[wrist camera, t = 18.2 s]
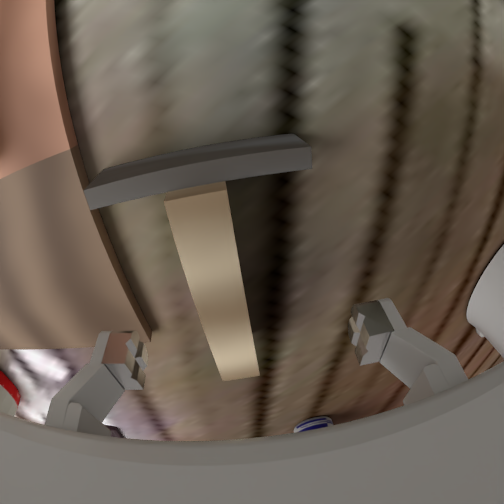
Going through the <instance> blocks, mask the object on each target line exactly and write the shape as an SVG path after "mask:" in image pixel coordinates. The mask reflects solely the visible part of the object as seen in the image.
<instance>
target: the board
mask: <svg viewBox="0 0 504 504" xmlns="http://www.w3.org/2000/svg"><path fill="white" fill-rule="evenodd" d="M89 184H90V183H89V180H88V177H87V174H86V171H85V167H84V164H83V161H82V157H81V154H80V150H79V146H78V143H77V139H76V135H75V131H74V127H73V123H72V119H71V115H70V110H69V106H68V101H67V96H66V91H65V86H64V80H63V75H62V69H61V62H60V56H59V48H58V40H57V31H56V20H55V5H54V0H0V349H62V348H83V347H95V345H96V341H97V338H98V335H99V333H100V332H101V331H133V330H134V331H137V332H138V334H139V336H140V338H139V341H141V342H142V343H146V342H151V335H152V331H151V329H150V327H149V325H148V323H147V321H146V319H145V317H144V315H143V313H142V311H141V309H140V307H139V305H138V303H137V301H136V299H135V297H134V295H133V292H132V290H131V288H130V286H129V284H128V282H127V279H126V277H125V275H124V273H123V270H122V268H121V266H120V263H119V261H118V259H117V256H116V254H115V251H114V249H113V247H112V244H111V242H110V239H109V236H108V234H107V231H106V229H105V226H104V223H103V221H102V218H101V215H100V213H99V210H98V208H97V209H93V210H90V208H89V205H88V202H87V199H86V197H85V194H84V191H83V190H84V189H85V188H86V187H87V186H88V185H89Z"/></svg>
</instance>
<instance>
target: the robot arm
mask: <svg viewBox="0 0 504 504" xmlns="http://www.w3.org/2000/svg"><path fill="white" fill-rule="evenodd" d="M351 314H352V317H351V318H350V319H349V323H348V333H349V338H350V340H351V343H352V344H354V345H355V346H356V350H355V354H356V356H357V359H358V362H359V364H360V365H365V364H370V363H374V362H379V361H380V363H381V364H382V365H383V366H385V367H386V368H387V369H388V370H389V371H390V372H392V373H393V374H394V375H395V376H396V377H397V378H399V379H400V380H401V381H402V382H403V383H404V384H406V385H407V386H408V387H409V388H410V390H409V392H408V393H407V395H406V396H405V398H404V400H403V403H404V405H405V406H402V407H399V408H396V409H393V410H389V411H386V412H383V413H380V414H376V415H373V416H369V417H365V418H362V419H358V420H354V421H350V422H346V423H342V424H337V425H333V426H328V427H323V428H318V429H313V430H308V431H302V432H296V433H290V434H283V435H276V436H268V437H259V438H249V439H236V440H220V441H155V440H139V439H127V438H117V437H111V431H110V429H108V428H107V427H106V426H105V425H104V424H102V422H103V420H104V419H105V417H106V416H107V415H108V413H109V412H110V410H111V409H112V408H113V406H114V405H115V404H116V402H117V401H118V399H119V398H120V397H121V395H122V394H123V392H124V391H125V390H140V389H144V383H145V377H146V375H145V374H144V372H143V370H144V369H145V368H146V367H147V364H148V352H147V349H146V346H145V345H144V343H142V342H141V341H139V338H140V336H139V334H138V332H137V331H134V330H133V331H101V332H100V333H99V335H98V338H97V341H96V345H95V348H94V351H93V354H92V357H91V360H90V364H86V365H85V366H84V367H83V368H82V369H81V370H80V371H79V372H78V373H77V374H76V375H75V376H74V377H73V378H72V379H71V380H70V381H69V382H68V383H67V384H66V385H65V386H64V387H63V388H62V389H61V390H60V391H59V392H58V393H57V394H56V395H55V396H54V397H53V398H52V400H51V404H50V407H49V411H48V414H47V418H46V422H45V425H43V424H39V423H35V422H31V421H28V420H24V419H21V418H17V417H14V416H11V415H7V414H4V413H1V412H0V504H504V362H502V363H500V364H498V365H496V366H494V367H493V368H491V369H489V370H487V371H485V372H483V373H481V374H479V375H477V376H475V377H473V378H471V379H469V380H468V379H467V377H466V375H465V373H464V371H463V369H462V367H461V365H460V363H459V361H458V360H457V358H456V356H455V355H454V354H453V353H451V352H450V351H448V350H446V349H445V348H443V347H442V346H440V345H438V344H437V343H435V342H433V341H432V340H430V339H429V338H427V337H425V336H424V335H422V334H421V333H419V332H417V331H416V330H414V329H412V328H411V327H409V328H407V327H406V325H405V323H404V321H403V320H402V318H401V316H400V314H399V313H398V311H397V309H396V307H395V306H394V304H393V302H392V300H391V299H390V298H386V299H381V300H377V301H376V300H375V301H370V302H365V303H360V304H355V305H353V306H352V308H351ZM467 320H468V322H469V323H470V324H472V325H473V326H474V327H475V328H476V332H477V333H478V334H479V335H480V336H481V337H484V336H485V337H486V338H487V339H488V341H489V342H490V343H491V344H492V345H493V346H494V348H495V349H496V350H497V351H498V352H499V353H500V355H501V356H502V357H503V358H504V245H503V246H502V247H501V248H500V250H499V251H498V252H497V253H496V255H495V256H494V258H493V259H492V260H491V262H490V263H489V265H488V266H487V268H486V269H485V271H484V273H483V274H482V276H481V278H480V279H479V281H478V283H477V285H476V287H475V289H474V291H473V293H472V296H471V298H470V301H469V304H468V307H467Z"/></svg>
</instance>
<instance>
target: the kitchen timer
mask: <svg viewBox="0 0 504 504" xmlns="http://www.w3.org/2000/svg"><path fill="white" fill-rule="evenodd" d="M19 401H20V394H19V392H18V389H17V388H16V387H15V386H14V384H13V383H12V382H11V381H10V380H9V379H8V378H7V377H6V375H5V374H4V373H3V372H2V371H0V412H1V413H4V414H7V415H11V416H14V415H15V413H16V411H17V408H18V405H19Z"/></svg>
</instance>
